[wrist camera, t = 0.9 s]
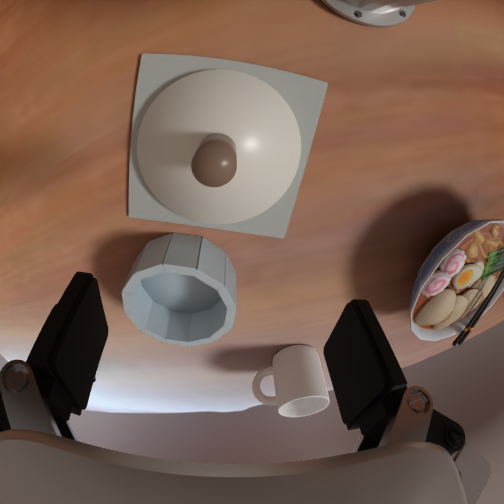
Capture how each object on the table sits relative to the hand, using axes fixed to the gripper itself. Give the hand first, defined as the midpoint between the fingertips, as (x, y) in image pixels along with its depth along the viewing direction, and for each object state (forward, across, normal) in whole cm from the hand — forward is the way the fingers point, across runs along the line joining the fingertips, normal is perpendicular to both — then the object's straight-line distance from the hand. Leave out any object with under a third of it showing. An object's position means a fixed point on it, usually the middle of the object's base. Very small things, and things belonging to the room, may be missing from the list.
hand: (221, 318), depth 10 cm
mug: (+22, -14, +32) cm, 41 cm away
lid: (+21, +1, -1) cm, 21 cm away
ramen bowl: (+21, -36, +8) cm, 42 cm away
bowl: (+21, +3, +16) cm, 27 cm away
